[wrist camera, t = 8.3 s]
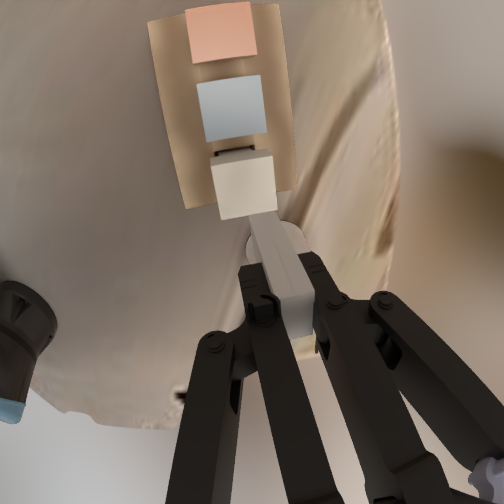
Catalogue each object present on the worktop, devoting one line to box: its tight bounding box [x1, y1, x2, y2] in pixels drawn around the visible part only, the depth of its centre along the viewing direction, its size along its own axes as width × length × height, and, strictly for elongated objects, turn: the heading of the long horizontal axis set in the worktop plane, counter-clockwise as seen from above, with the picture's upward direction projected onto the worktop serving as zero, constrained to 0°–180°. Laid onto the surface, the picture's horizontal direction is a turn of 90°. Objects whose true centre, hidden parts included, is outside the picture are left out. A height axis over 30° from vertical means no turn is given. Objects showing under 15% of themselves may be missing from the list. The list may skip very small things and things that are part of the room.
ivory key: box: [210, 147, 278, 220], centre depth 25 cm, size 5×5×7 cm
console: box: [147, 4, 297, 209], centre depth 25 cm, size 12×20×5 cm, turn 7°
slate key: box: [196, 75, 267, 142], centre depth 22 cm, size 5×5×7 cm
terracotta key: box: [185, 2, 257, 66], centre depth 18 cm, size 5×5×7 cm
